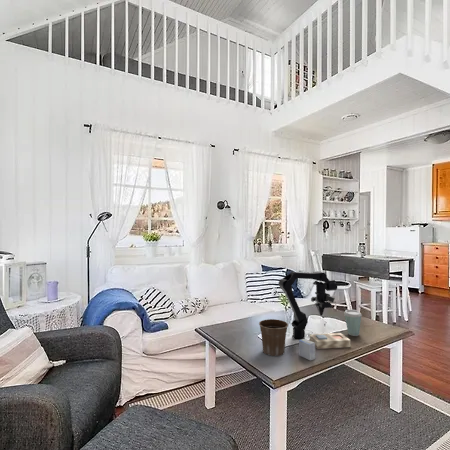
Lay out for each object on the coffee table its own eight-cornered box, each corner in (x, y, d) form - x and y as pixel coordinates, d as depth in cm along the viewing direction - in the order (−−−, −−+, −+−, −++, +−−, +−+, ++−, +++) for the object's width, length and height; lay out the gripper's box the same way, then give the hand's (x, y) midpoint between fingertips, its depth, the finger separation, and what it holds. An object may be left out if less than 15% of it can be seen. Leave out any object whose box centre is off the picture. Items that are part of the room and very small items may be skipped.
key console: (317, 348, 176) (317, 341, 176) (309, 341, 188) (309, 334, 188) (350, 346, 178) (350, 340, 178) (340, 339, 190) (340, 332, 190)
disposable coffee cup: (365, 336, 195) (365, 312, 195) (352, 338, 192) (351, 314, 192) (354, 330, 205) (353, 308, 205) (340, 332, 202) (340, 310, 202)
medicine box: (315, 358, 163) (315, 342, 163) (309, 360, 161) (309, 344, 161) (304, 353, 170) (304, 338, 170) (298, 355, 167) (298, 339, 167)
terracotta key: (335, 344, 181) (335, 339, 181) (331, 341, 186) (331, 336, 186) (343, 344, 181) (343, 339, 181) (339, 340, 186) (339, 336, 186)
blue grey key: (319, 343, 180) (319, 337, 180) (315, 339, 185) (315, 334, 185) (327, 342, 180) (327, 337, 180) (323, 339, 185) (323, 334, 185)
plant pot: (294, 355, 168) (293, 326, 168) (268, 360, 162) (267, 329, 162) (278, 344, 183) (278, 317, 183) (254, 348, 177) (254, 321, 177)
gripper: (339, 294, 189) (339, 319, 189) (326, 287, 207) (326, 310, 207) (322, 294, 188) (322, 320, 188) (310, 288, 206) (311, 311, 206)
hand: (321, 315), depth 197 cm, fingers closed
